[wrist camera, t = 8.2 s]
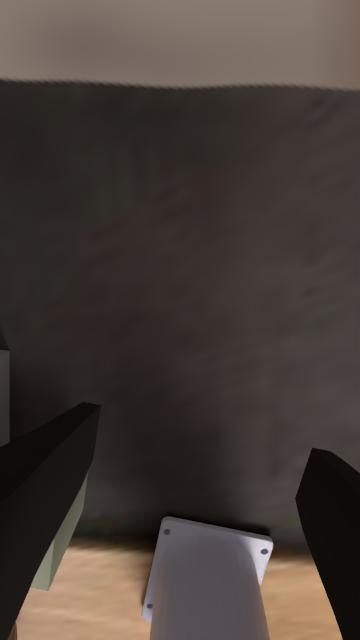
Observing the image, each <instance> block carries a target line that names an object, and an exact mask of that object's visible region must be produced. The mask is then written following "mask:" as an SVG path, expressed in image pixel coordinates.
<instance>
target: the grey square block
mask: <svg viewBox="0 0 360 640" xmlns="http://www.w3.org/2000/svg"><path fill="white" fill-rule="evenodd" d="M9 442H10V351H6V350H0V446H3V445H5V444H7V443H9Z"/></svg>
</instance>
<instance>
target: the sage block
mask: <svg viewBox="0 0 360 640" xmlns="http://www.w3.org/2000/svg"><path fill="white" fill-rule="evenodd" d="M87 477H88V473H87V475H86V478H85V480H84V482H83V485H82V487H81V489H80V491H79V493H78V495H77V497H76V499H75V501H74V502H73V504H72V506H71V508H70V510H69V512H68V514H67V516H66V517H65V519H64V521H63V523H62V525H61V527H60V529H59V530H58V532H57V534H56V536H55V538H54V540H53V542H52V543H51V545H50V547H49V549H48V551H47V553H46V555H45V557H44V559H43V561H42V563H41V565H40V567H39V569H38V571H37V573H36V575H35V577H34V579H33V582H32V584H31V586H30V587H32V588H37V589H42V590H47V591H48V590H49V588H50V586H51V583H52V581H53V579H54V576H55V574H56V572H57V569H58V567H59V565H60V562H61V560H62V558H63V555H64V553H65V551H66V548H67V546H68V544H69V541H70V539H71V537H72V534H73V532H74V530H75V527H76V525H77V522H78V520H79V518H80V515H81V513H82V511H83V505H84V498H85V491H86V484H87Z"/></svg>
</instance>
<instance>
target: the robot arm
mask: <svg viewBox="0 0 360 640" xmlns="http://www.w3.org/2000/svg"><path fill="white" fill-rule="evenodd" d="M100 408H101V405H96V404H91V403H86V402H82V403H80V404H78V405H77V406H75V407H73V408H72V409H70V410H68V411H67V412H65V413H63V414H62V415H60V416H58V417H57V418H55V419H53V420H51V421H49V422H48V423H46V424H44V425H42V426H41V427H39V428H37V429H35V430H33V431H31V432H29V433H27V434H25V435H23V436H21V437H19V438H17V439H15V440H13V441H11V442H9V443H7V444H5V445H3V446H0V640H8V638H9V635H10V633H11V630H12V628H13V626H14V623H15V621H16V619H17V616H18V614H19V612H20V609H21V607H22V605H23V602H24V600H25V598H26V596H27V593H28V591H29V589H30V586H31V584H32V582H33V579H34V577H35V575H36V573H37V571H38V569H39V567H40V565H41V563H42V561H43V559H44V557H45V555H46V553H47V551H48V549H49V547H50V545H51V543H52V542H53V540H54V538H55V536H56V534H57V532H58V530H59V529H60V527H61V525H62V523H63V521H64V519H65V517H66V516H67V514H68V512H69V510H70V508H71V506H72V504H73V502H74V501H75V499H76V497H77V495H78V493H79V491H80V489H81V487H82V485H83V482H84V480H85V478H86V475H87V473H88V470H89V467H90V465H91V462H92V460H93V455H94V449H95V442H96V435H97V429H98V422H99V415H100ZM295 499H296V504H297V508H298V513H299V517H300V521H301V525H302V529H303V532H304V535H305V538H306V540H307V543H308V546H309V549H310V551H311V554H312V557H313V559H314V562H315V565H316V567H317V570H318V572H319V575H320V578H321V580H322V583H323V586H324V588H325V591H326V593H327V596H328V599H329V601H330V604H331V607H332V609H333V612H334V615H335V617H336V620H337V623H338V626H339V629H340V632H341V635H342V638H343V640H360V473H359V472H358V471H356V470H355V469H354V468H352V467H351V466H350V465H349V464H347V463H346V462H345V461H343V460H342V459H341V458H339V457H338V456H337V455H335V454H334V453H332V452H331V451H326V450H321V449H316V448H312V450H311V453H310V456H309V459H308V462H307V465H306V468H305V471H304V474H303V477H302V480H301V483H300V486H299V489H298V492H297V495H296V498H295ZM165 529H168V530H165ZM272 548H273V542H272V539H271V538H270V537H268V536H265V535H260V534H255V533H250V532H245V531H240V530H235V529H230V528H225V527H220V526H215V525H210V524H205V523H200V522H194V521H189V520H184V519H179V518H174V517H168V516H167V517H164V518H163V519H162V522H161V526H160V531H159V536H158V540H157V545H156V549H155V554H154V558H153V563H152V567H151V572H150V576H149V581H148V586H147V590H146V595H145V599H144V604H143V608H142V617H143V619H145V620H148V621H152V623H151V631H150V640H270V637H269V632H268V627H267V622H266V617H265V611H264V606H263V601H262V596H261V591H260V585H261V582H262V579H263V576H264V573H265V570H266V567H267V564H268V561H269V558H270V555H271V552H272Z"/></svg>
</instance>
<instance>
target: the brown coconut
mask: <svg viewBox="0 0 360 640" xmlns="http://www.w3.org/2000/svg"><path fill="white" fill-rule="evenodd" d="M8 640H17V626H16V621H15V623H14V626H13V628H12V630H11V633H10V635H9V638H8Z"/></svg>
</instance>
